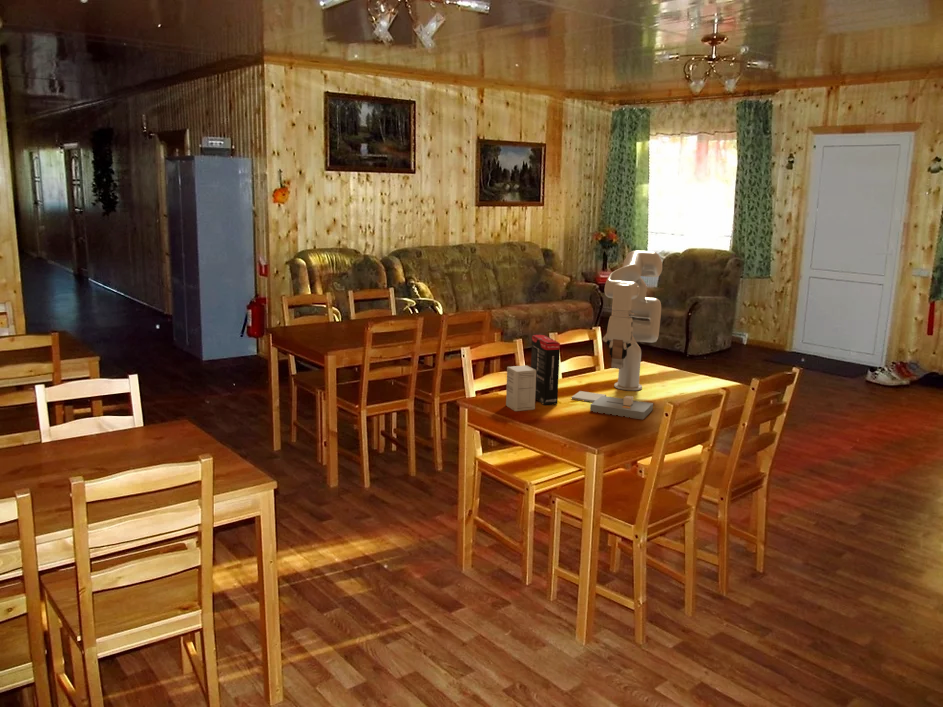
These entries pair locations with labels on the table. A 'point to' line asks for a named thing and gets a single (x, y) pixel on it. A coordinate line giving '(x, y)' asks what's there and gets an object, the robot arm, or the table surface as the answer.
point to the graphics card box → (545, 368)
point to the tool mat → (587, 396)
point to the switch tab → (628, 400)
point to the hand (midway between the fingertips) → (618, 357)
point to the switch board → (621, 407)
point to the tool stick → (617, 354)
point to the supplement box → (521, 388)
